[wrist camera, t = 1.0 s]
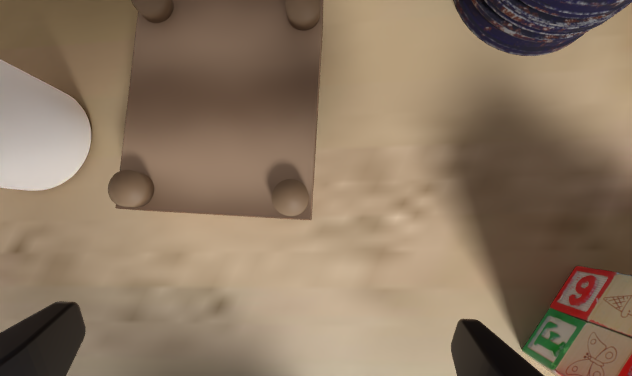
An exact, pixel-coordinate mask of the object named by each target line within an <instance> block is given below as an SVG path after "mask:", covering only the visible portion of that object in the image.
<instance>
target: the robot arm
mask: <svg viewBox="0 0 632 376" xmlns="http://www.w3.org/2000/svg"><path fill="white" fill-rule="evenodd" d="M84 336H85V324H84V321H83V317H82V314H81V311H80V307H79V305H78V304H77V303H75V302H62V301H60V302H55V303H53V304H51V305H50V306H48V307H46V308H44V309H42V310H41V311H39V312H37V313H35V314H33V315H32V316H30V317H28V318H26V319H24V320H23V321H21V322H19V323H17V324H15V325H14V326H12V327H10V328H8V329H6V330H5V331H3V332H1V333H0V376H66V374H67V372H68V370H69V368H70V366H71V364H72V362H73V360H74V358H75V356H76V354H77V351H78V349H79V347H80V345H81V343H82V341H83V339H84ZM451 352H452V357H453V361H454V365H455V369H456V373H457V376H544V375H543V374H541V373H540V372H539V371H538V370H537V369H535V368H534V367H533V366H532V365H531V364H530V363H528V362H527V361H526V360H525V359H524V358H522V357H521V356H520V355H519V354H518V353H517V352H515V351H514V350H513V349H512V348H511V347H509V346H508V345H507V344H506V343H505V342H504V341H502V340H501V339H500V338H499V337H498V336H496V335H495V334H494V333H493V332H492V331H491V330H489V329H488V328H487V327H486V326H485V325H483V324H482V323H481V322H480V321H478V320H475V319H460V320H459V321H458V324H457V327H456V330H455V333H454V336H453V339H452V343H451Z"/></svg>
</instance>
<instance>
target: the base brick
mask: <svg viewBox="0 0 632 376" xmlns="http://www.w3.org/2000/svg"><path fill="white" fill-rule="evenodd" d="M131 1H132V4H133V5H134V6H135V8H136V9H137V10H138V18H137V26H136V35H135V44H134V52H133V61H132V70H131V79H130V87H129V96H128V105H127V113H126V122H125V131H124V139H123V148H122V157H121V165H120V172H118V173H116V174H115V175H114V176H113V177H112V178H111V180H110V182H109V185H108V193H109V196H110V198H111V200H112V201H113V202H114V203H115V204H116V208H119V209H132V210H146V211H162V212H179V213H197V214H214V215H231V216H248V217H266V218H283V219H300V220H311V219H312V202H313V185H314V168H315V151H316V134H317V117H318V100H319V83H320V66H321V49H322V29H323V0H131Z"/></svg>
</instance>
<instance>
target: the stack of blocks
mask: <svg viewBox="0 0 632 376" xmlns="http://www.w3.org/2000/svg"><path fill="white" fill-rule="evenodd" d="M522 351H523V352H524V353H525V354H527V355H528V356H529V357H531V358H532V359H533V360H535V361H536V362H537V363H539V364H540V365H542V366H543V367H544V368H546V369H547V370H548V371H550V372H551V373H552V374H554V375H555V376H632V275H625V274H620V273H618V272H612V271H606V270H600V269H592V268H588V267H582V266H576V267H575V269H574V270H573V272H572V273H571V275H570V276H569V278H568V279H567V281H566V282H565V284H564V285H563V287H562V288H561V290H560V291H559V293H558V295H557V296H556V298H555V299H554V301H553V302H552V304H551V305H550V309H549V310H548V311H547V313H546V314H545V316H544V317H543V319H542V320H541V322H540V323H539V325H538V326H537V328H536V329H535V331H534V332H533V334H532V335H531V337H530V338H529V340H528V342H527V343H526V344H525V346H524V347H523V349H522Z"/></svg>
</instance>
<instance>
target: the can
mask: <svg viewBox="0 0 632 376" xmlns="http://www.w3.org/2000/svg"><path fill="white" fill-rule="evenodd" d="M90 144H91V127H90V123H89V120H88V117H87V115H86V113H85V111H84V110H83V108H82V107H81V106H80V104H79V103H78V102H77V101H76V100H75V99H74V98H72V97H71V96H69V95H68V94H66V93H64V92H62V91H60V90H59V89H57V88H55V87H53V86H51V85H49V84H47V83H45V82H43V81H41V80H39V79H38V78H36V77H34V76H32V75H30V74H28V73H26V72H24V71H22V70H20V69H18V68H16V67H14V66H12V65H10V64H9V63H7V62H5V61H3V60H1V59H0V188H8V189H18V190H29V191H39V190H46V189H50V188H53V187H56V186H58V185H60V184H62V183H64V182H65V181H67V180H68V179H70V178H71V177H72V176H73V175H74V174H75V173H76V172H77V171H78V170H79V169H80V167H81V166H82V164H83V163H84V161H85V159H86V157H87V155H88V152H89V149H90Z"/></svg>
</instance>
